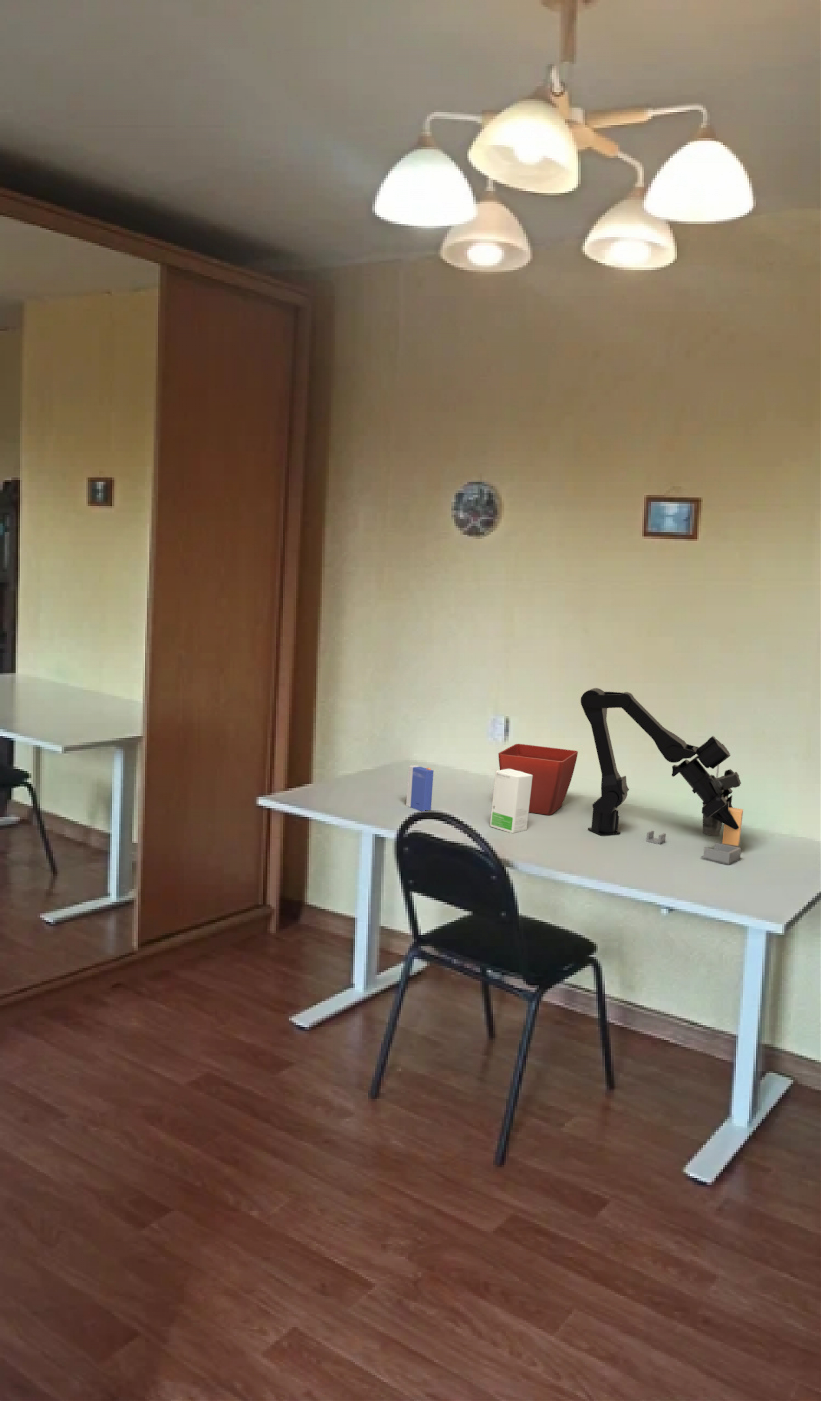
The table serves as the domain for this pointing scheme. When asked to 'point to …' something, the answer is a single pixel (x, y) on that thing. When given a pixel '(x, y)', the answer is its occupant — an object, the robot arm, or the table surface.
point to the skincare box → (511, 800)
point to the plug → (730, 834)
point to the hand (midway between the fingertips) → (738, 826)
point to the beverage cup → (712, 822)
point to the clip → (654, 840)
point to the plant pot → (542, 773)
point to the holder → (722, 854)
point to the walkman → (419, 788)
